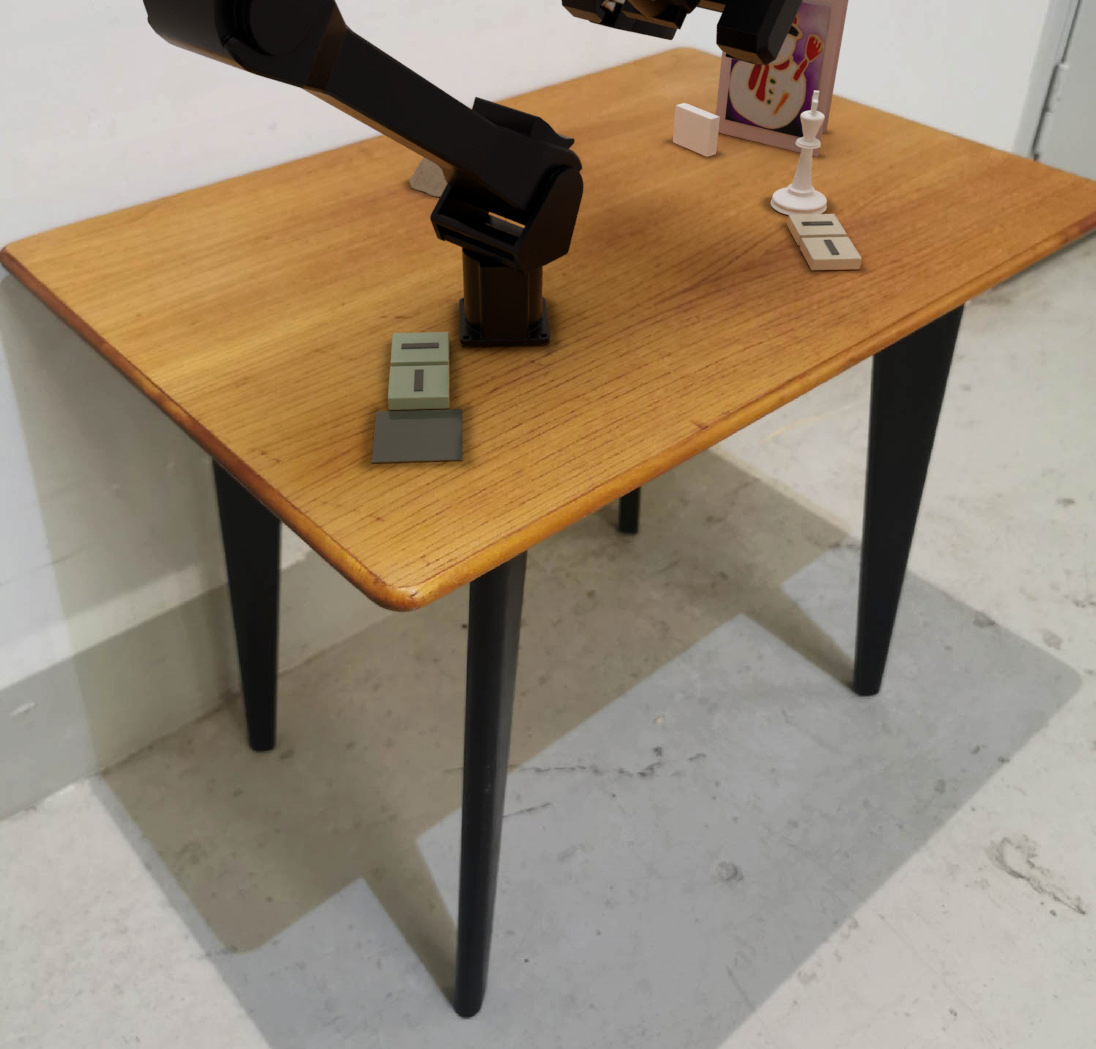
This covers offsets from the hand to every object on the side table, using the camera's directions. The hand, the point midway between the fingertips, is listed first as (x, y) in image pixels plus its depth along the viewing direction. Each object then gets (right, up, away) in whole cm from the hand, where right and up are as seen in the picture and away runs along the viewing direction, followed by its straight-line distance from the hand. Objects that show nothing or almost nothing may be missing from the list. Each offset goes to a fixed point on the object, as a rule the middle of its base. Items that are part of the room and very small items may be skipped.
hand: (720, 45), depth 89 cm
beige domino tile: (+9, -15, +5) cm, 18 cm away
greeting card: (+9, +1, +24) cm, 26 cm away
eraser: (+1, -1, +22) cm, 22 cm away
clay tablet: (-19, -5, +16) cm, 26 cm away
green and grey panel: (-22, -29, -14) cm, 39 cm away
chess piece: (+9, -10, +11) cm, 17 cm away
